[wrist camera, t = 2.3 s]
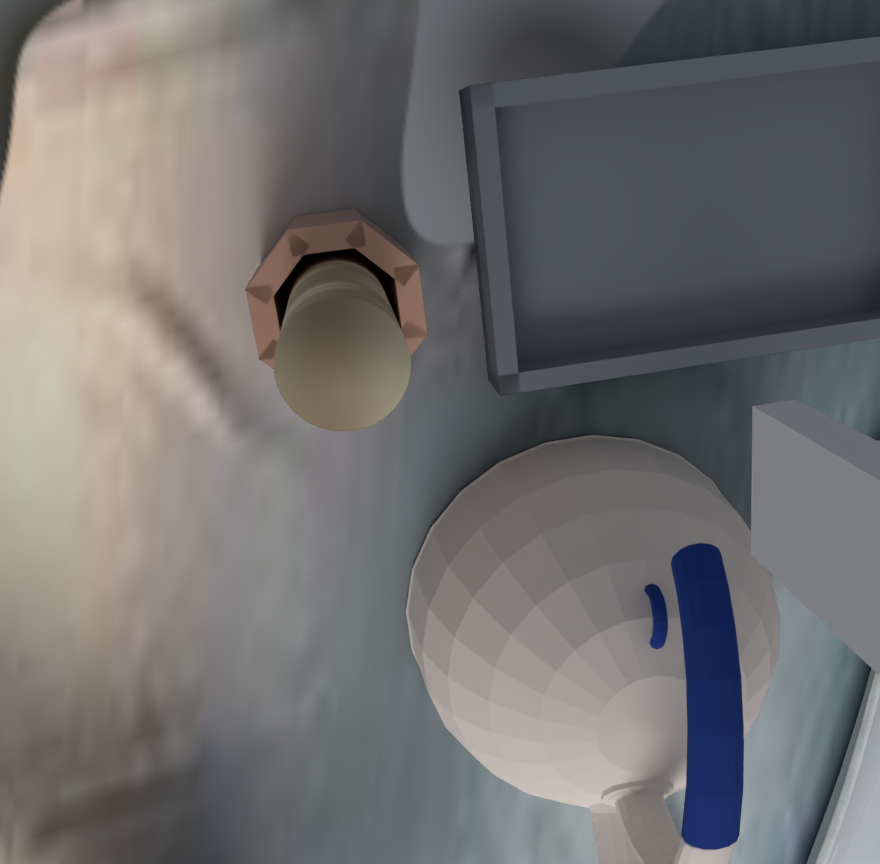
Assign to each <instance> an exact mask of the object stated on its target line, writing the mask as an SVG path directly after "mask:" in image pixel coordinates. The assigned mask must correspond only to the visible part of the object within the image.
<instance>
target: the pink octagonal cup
mask: <svg viewBox="0 0 880 864" xmlns="http://www.w3.org/2000/svg"><path fill="white" fill-rule="evenodd" d="M350 248H355V249H356V250H358V251H359V252H360V253H362V254H363V255H364V256H366V257H367V258H368V259H369V260H370V262H371V263H372V265H373V267H374V269H375V271H376V273H377V275H378V278H379V280H380V282H381V285H382V287H383V289H384V291H385V294H386V296H387V298H388V301H389V303H390V305H391V307H392V310H393V312H394V314H395V317H396V319H397V321H398V323H399V326H400V328H401V330H402V333H403V335H404V337H405V339H406V342H407V345H408V348H409V353H410V357H411V355H412V354H413V353H414V352H415V350H416V349H417V348H418V346H419V345H420V344H421V342H422V341H423V340H424V339H425V337H426V336H428V333H427V327H426V319H425V311H424V303H423V295H422V287H421V279H420V271H419V264H418V263H417V262H416V261H415V259H414V258H413V257H412V256H411V255H410V254H409V252H408V251H407V250H406V249H405V248H404V247H403V246H402V244H399V243H398V242H397V241H396V240H394V239H393V238H392V237H391V236H389V235H388V234H387V233H385V232H384V231H383V230H382V229H380V228H379V227H378V226H376V225H375V224H374V223H373V222H371V221H370V220H369V219H368V218H366V217H365V216H364V215H362V214H361V213H360V212H359V211H357V210H356V208H352V209H344V210H337V211H329V212H321V213H314V214H306V215H298V216H294V218H293V219H292V221H291V223H290V224H289V225H288V227H287V228H286V230H285V231H284V232H283V234H282V235H281V237H280V238H279V239H278V241H277V242H276V244H275V245H274V246H273V248H272V249H271V251H270V252H269V253H268V255H267V256H266V258H265V259H264V260H263V262H262V263H260V265H259V267H258V268H257V270H256V272H255V273H254V275H253V276H252V278H251V280H250V281H249V283H248V285H247V286H246V289H245V290H246V293H247V298H248V303H249V309H250V314H251V319H252V324H253V329H254V334H255V339H256V344H257V349H258V355H259V360H261V361H263V362H264V363H266V364H267V365H269V366H270V367H272V368H273V369H274V356H275V350H276V346H277V342H278V339H279V335H280V331H281V327H282V323H283V320H284V316H285V312H286V308H287V304H288V300H289V297H290V293H291V289H292V285H293V281H294V277H295V274H296V271H297V268H298V266H299V264H300V263H301V261H302V260H303V259H304V257H305V256H306V255H307V254H313V253H321V252H328V251H335V250H343V249H350Z"/></svg>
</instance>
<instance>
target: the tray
mask: <svg viewBox="0 0 880 864" xmlns="http://www.w3.org/2000/svg"><path fill="white" fill-rule="evenodd" d="M459 94H460V103H461V113H462V123H463V133H464V142H465V153H466V162H467V172H468V182H469V192H470V202H471V211H472V221H473V231H474V241H475V251H476V261H477V271H478V280H479V290H480V300H481V310H482V320H483V330H484V339H485V349H486V359H487V369H488V379H489V381H490V382H491V384H492V385H493V387H494V388H495V389H496V391H497V392H498V393H499V395H500V396H501V395H508V394H514V393H521V392H527V391H534V390H541V389H547V388H554V387H560V386H567V385H573V384H580V383H586V382H593V381H600V380H606V379H613V378H619V377H626V376H632V375H639V374H645V373H652V372H659V371H665V370H672V369H678V368H685V367H691V366H698V365H704V364H711V363H718V362H724V361H731V360H737V359H744V358H750V357H757V356H764V355H770V354H777V353H783V352H790V351H796V350H803V349H809V348H816V347H823V346H829V345H836V344H842V343H849V342H855V341H862V340H868V339H875V338H880V37H872V38H863V39H855V40H846V41H838V42H830V43H821V44H813V45H804V46H796V47H788V48H779V49H771V50H762V51H754V52H746V53H737V54H729V55H720V56H712V57H704V58H695V59H687V60H678V61H670V62H662V63H653V64H645V65H636V66H628V67H620V68H611V69H603V70H595V71H586V72H578V73H569V74H561V75H553V76H544V77H536V78H527V79H519V80H511V81H502V82H494V83H485V84H477V85H470V86H468V87H466V88H464V89H462V90H460V91H459Z"/></svg>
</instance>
